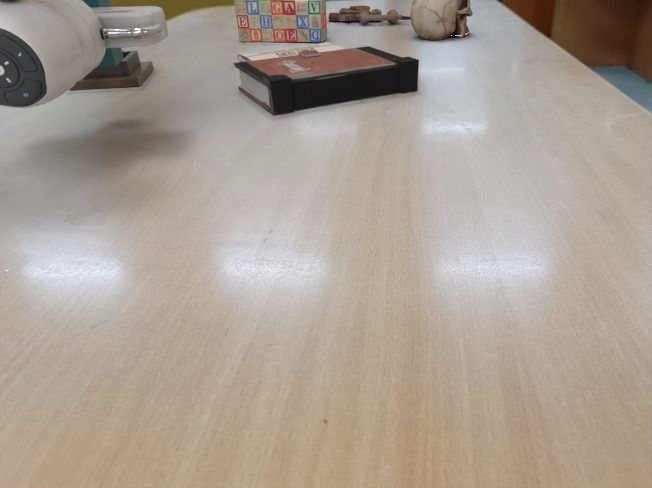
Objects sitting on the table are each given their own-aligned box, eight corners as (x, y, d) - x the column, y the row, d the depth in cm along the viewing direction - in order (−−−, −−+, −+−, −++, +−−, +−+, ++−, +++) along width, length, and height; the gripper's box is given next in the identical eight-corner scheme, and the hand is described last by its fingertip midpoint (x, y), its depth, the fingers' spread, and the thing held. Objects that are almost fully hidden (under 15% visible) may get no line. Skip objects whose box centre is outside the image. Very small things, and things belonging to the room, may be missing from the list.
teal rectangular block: (84, 68, 68) (58, -19, 62) (94, 59, 72) (71, -22, 66) (115, 66, 68) (93, -19, 62) (124, 58, 72) (103, -23, 67)
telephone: (443, 24, 143) (444, 7, 141) (325, 25, 145) (325, 9, 142) (438, 19, 156) (439, 3, 154) (330, 20, 158) (330, 4, 155)
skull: (467, 28, 137) (471, -28, 128) (475, 49, 124) (481, -13, 115) (408, 31, 138) (409, -25, 129) (410, 52, 125) (411, -9, 116)
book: (366, 70, 100) (366, 42, 97) (417, 90, 87) (418, 59, 85) (237, 89, 90) (233, 59, 87) (273, 115, 77) (270, 81, 74)
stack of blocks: (328, 38, 129) (325, -18, 122) (322, 43, 124) (319, -15, 117) (247, 37, 132) (241, -18, 125) (238, 41, 127) (231, -15, 120)
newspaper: (320, 49, 118) (320, 37, 117) (351, 63, 111) (351, 51, 109) (229, 61, 107) (228, 49, 105) (256, 79, 100) (255, 66, 98)
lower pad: (69, 90, 91) (61, 66, 88) (91, 71, 102) (85, 50, 100) (139, 86, 92) (133, 63, 90) (153, 68, 104) (148, 47, 101)
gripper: (150, 1, 56) (170, -11, 67) (-53, 6, 53) (3, -8, 65) (163, 62, 59) (180, 40, 71) (-27, 70, 57) (22, 46, 68)
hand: (94, 17), depth 68 cm, fingers closed on teal rectangular block, 4 cm apart
